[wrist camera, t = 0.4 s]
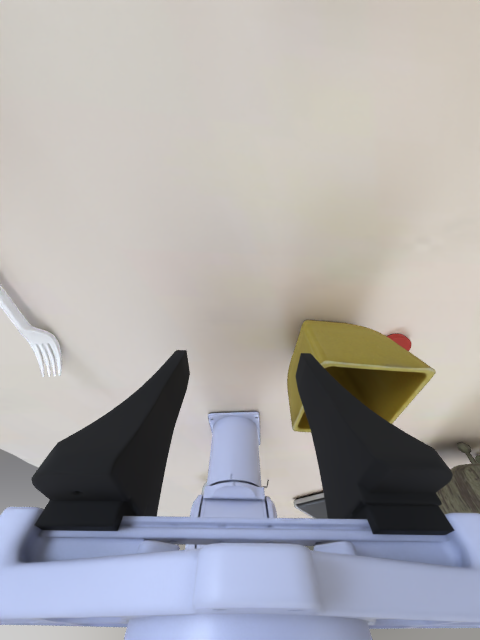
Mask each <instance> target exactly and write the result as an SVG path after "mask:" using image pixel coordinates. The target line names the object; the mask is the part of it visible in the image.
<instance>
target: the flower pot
mask: <svg viewBox="0 0 480 640" xmlns="http://www.w3.org/2000/svg"><path fill="white" fill-rule="evenodd" d="M301 353H311V354H312V355H313V356H314V358H315V359H316V360H317V361H318V362H319V363H320V364H321V365H322V366H323V367H324V368H325V369H326V370H327V372H328V373H329V374H330V375H331V376H332V377H333V378H334V379H335V380H336V381H337V382H338V383H340V384H341V385H342V386H343V387H344V388H345V389H346V390H347V391H348V392H349V393H351V394H352V395H353V396H354V397H355V398H357V399H358V400H359V401H360V402H362V403H363V404H364V405H365V406H367V407H368V408H369V409H371V410H372V411H373V412H375V413H376V414H378V415H379V416H380V417H382V418H383V419H385V420H386V421H388V422H389V423H391V424H392V423H393V422H394V421H395V420H396V419H397V417H398V416H399V415H400V414H401V413H402V412H403V411H404V409H405V408H406V407H407V406H408V405H409V403H410V402H411V401H412V400H413V399H414V398H415V397H416V395H417V394H418V393H419V392H420V391H421V390H422V389H423V387H424V386H425V385H426V384H427V383H428V382H429V381H430V379H431V378H432V377H433V375H434V374H435V373H436V371H435V370H434V369H433V368H431V367H430V366H428V365H427V364H426V363H424V362H423V361H421V360H420V359H418V358H417V357H416V356H414V355H413V354H411V353H410V352H409V351H407V350H406V349H404V348H403V347H401V346H400V345H398V344H397V343H396V342H394V341H393V340H391V339H390V338H388V337H386V336H385V335H383V334H381V333H379V332H377V331H374V330H372V329H369V328H366V327H363V326H358V325H353V324H348V323H338V322H325V321H314V320H306V321H304V323H303V324H302V327H301V330H300V333H299V337H298V340H297V343H296V346H295V349H294V352H293V356H292V358H291V362H290V366H289V370H288V379H287V385H288V396H289V405H290V413H291V421H292V428H293V430H294V431H298V432H311V429H310V426H309V423H308V420H307V417H306V414H305V411H304V408H303V405H302V402H301V399H300V395H299V392H298V388H297V383H296V377H295V375H296V371H297V367H298V363H299V359H300V355H301Z"/></svg>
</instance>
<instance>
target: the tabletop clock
mask: <svg viewBox="0 0 480 640" xmlns="http://www.w3.org/2000/svg"><path fill="white" fill-rule="evenodd" d="M457 446H458V449H459V450H460V451H461V452H463V453H466V455H467V456H468V458H469V460H470V462H471V464H465V465H458V466H456V467H454V468H452V469H451V471H452V474H453V476H452V479H451V481H450V482H449V483H448V484H447V485H445V486H444V487H443V488H441V489H440V490H439V491H437V492H436V494H437V496H438V497H439V499H440V500H441V502H442V504H441V505H439V507H440V509H441V510H442V512H443V513H444V515H445V514H449V513H479V514H480V455H478V456H476V457H475V459H474V458H473V457H472V455H471V454H470V452H471V448H470V446H469V445H467V444H465V443H459V444H458V445H457ZM476 461H477V462H476Z"/></svg>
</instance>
